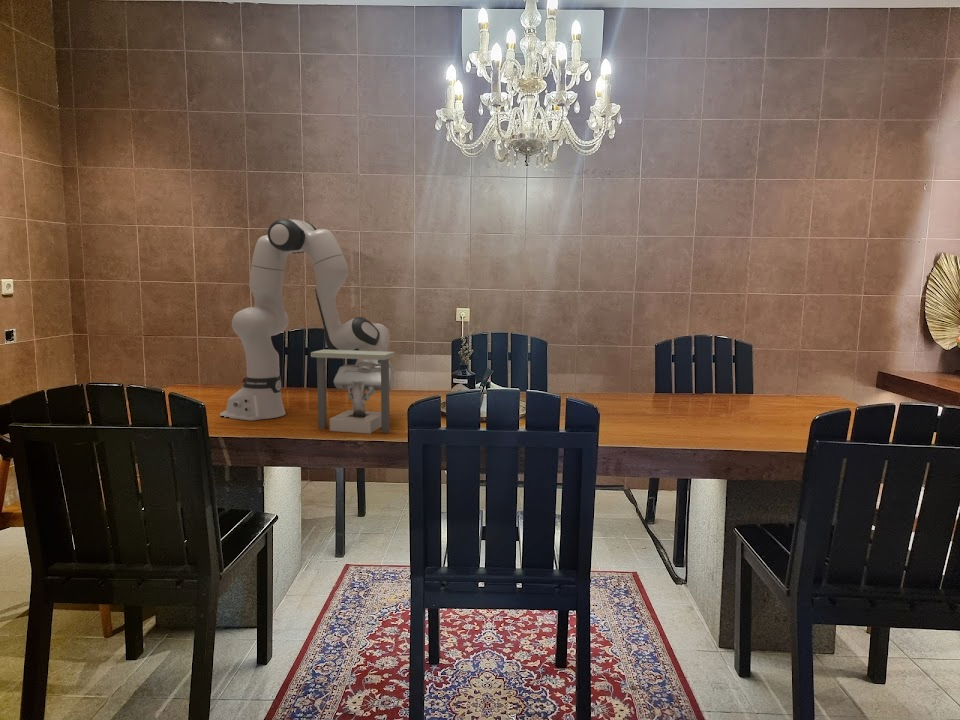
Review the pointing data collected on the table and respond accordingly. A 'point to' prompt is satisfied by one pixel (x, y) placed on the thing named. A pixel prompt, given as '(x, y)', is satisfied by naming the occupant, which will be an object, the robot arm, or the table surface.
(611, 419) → the table surface
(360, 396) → the peg
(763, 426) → the table surface
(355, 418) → the socket
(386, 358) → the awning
